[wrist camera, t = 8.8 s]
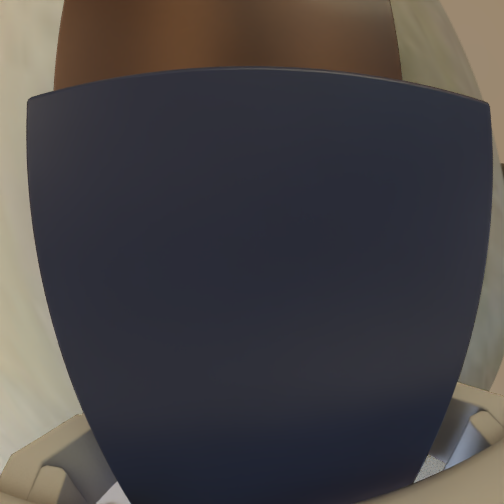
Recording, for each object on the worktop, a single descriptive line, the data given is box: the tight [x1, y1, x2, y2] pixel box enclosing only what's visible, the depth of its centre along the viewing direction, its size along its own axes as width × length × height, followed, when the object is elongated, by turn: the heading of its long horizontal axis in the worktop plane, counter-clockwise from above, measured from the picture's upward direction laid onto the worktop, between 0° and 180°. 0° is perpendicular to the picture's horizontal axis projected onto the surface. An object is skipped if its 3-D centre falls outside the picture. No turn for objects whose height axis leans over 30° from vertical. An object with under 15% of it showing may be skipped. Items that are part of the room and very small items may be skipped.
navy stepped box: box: [26, 66, 493, 504], centre depth 7 cm, size 14×6×6 cm, turn 2°
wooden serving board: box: [54, 0, 402, 91], centre depth 13 cm, size 12×28×5 cm, turn 2°
